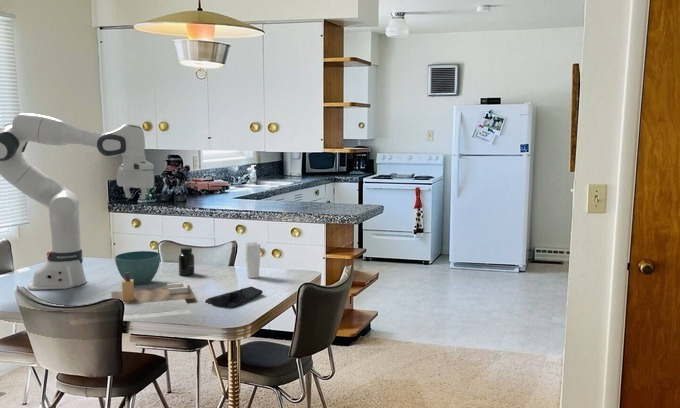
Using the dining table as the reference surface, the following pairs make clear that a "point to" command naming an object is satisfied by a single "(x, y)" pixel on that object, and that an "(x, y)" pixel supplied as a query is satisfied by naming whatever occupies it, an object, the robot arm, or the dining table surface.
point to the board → (155, 295)
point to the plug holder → (177, 288)
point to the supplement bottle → (186, 262)
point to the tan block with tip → (128, 288)
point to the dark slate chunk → (234, 297)
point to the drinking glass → (252, 259)
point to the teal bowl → (138, 265)
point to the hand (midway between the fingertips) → (135, 198)
